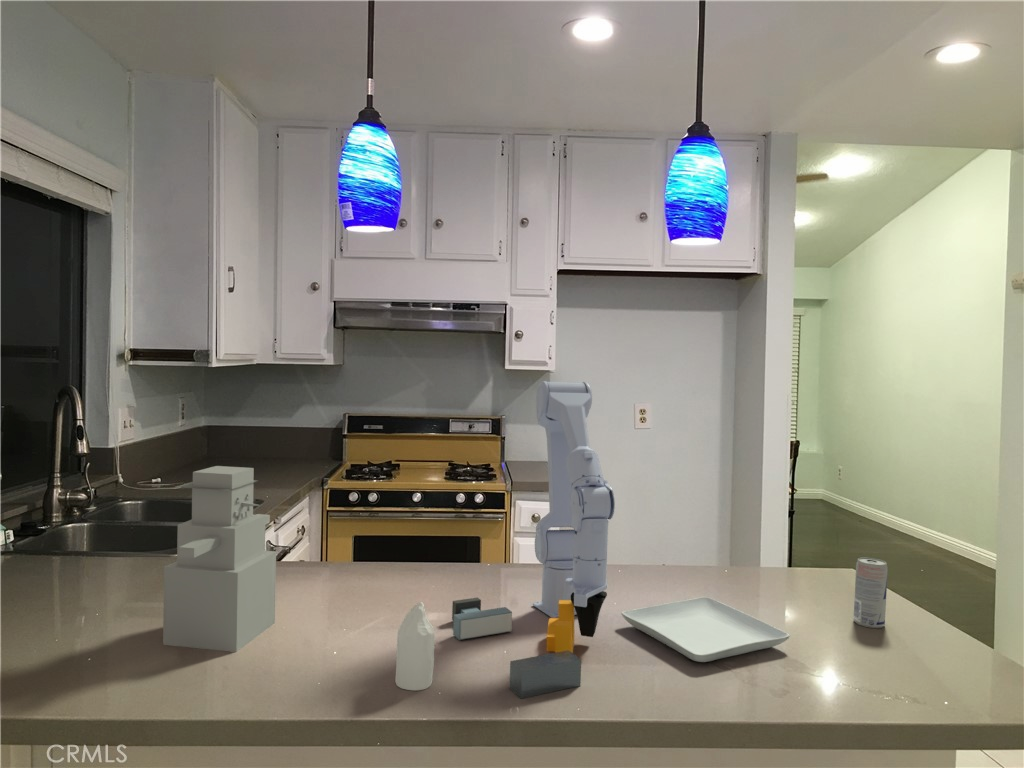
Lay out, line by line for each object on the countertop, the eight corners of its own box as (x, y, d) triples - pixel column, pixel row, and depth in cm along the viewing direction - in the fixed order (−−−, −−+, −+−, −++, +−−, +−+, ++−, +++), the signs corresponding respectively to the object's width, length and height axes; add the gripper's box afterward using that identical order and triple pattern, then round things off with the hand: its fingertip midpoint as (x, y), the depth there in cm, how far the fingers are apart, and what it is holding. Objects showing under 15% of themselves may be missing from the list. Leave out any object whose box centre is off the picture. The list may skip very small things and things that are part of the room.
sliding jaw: (489, 614, 135) (489, 595, 135) (512, 632, 127) (513, 612, 126) (439, 621, 130) (439, 602, 130) (460, 640, 122) (460, 620, 122)
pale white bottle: (390, 598, 107) (425, 593, 110) (389, 678, 108) (423, 670, 111) (407, 611, 102) (443, 605, 105) (405, 694, 103) (440, 685, 106)
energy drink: (884, 621, 138) (887, 559, 138) (885, 630, 133) (888, 566, 133) (853, 616, 141) (856, 555, 140) (853, 625, 136) (856, 562, 135)
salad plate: (697, 675, 113) (698, 653, 113) (617, 628, 132) (618, 609, 132) (793, 653, 123) (794, 633, 122) (706, 612, 141) (706, 595, 141)
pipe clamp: (549, 636, 126) (549, 599, 126) (574, 637, 125) (574, 600, 125) (544, 665, 114) (543, 624, 114) (571, 666, 113) (571, 625, 113)
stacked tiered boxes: (139, 659, 112) (141, 479, 110) (223, 607, 135) (225, 458, 134) (216, 667, 110) (219, 484, 109) (288, 613, 133) (291, 462, 132)
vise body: (566, 674, 111) (567, 649, 111) (580, 685, 107) (581, 659, 107) (508, 686, 106) (509, 660, 106) (521, 698, 103) (521, 671, 102)
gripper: (576, 543, 131) (574, 617, 131) (556, 564, 117) (554, 647, 117) (615, 548, 128) (612, 623, 129) (599, 569, 115) (597, 654, 115)
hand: (587, 635), depth 123 cm, fingers closed
